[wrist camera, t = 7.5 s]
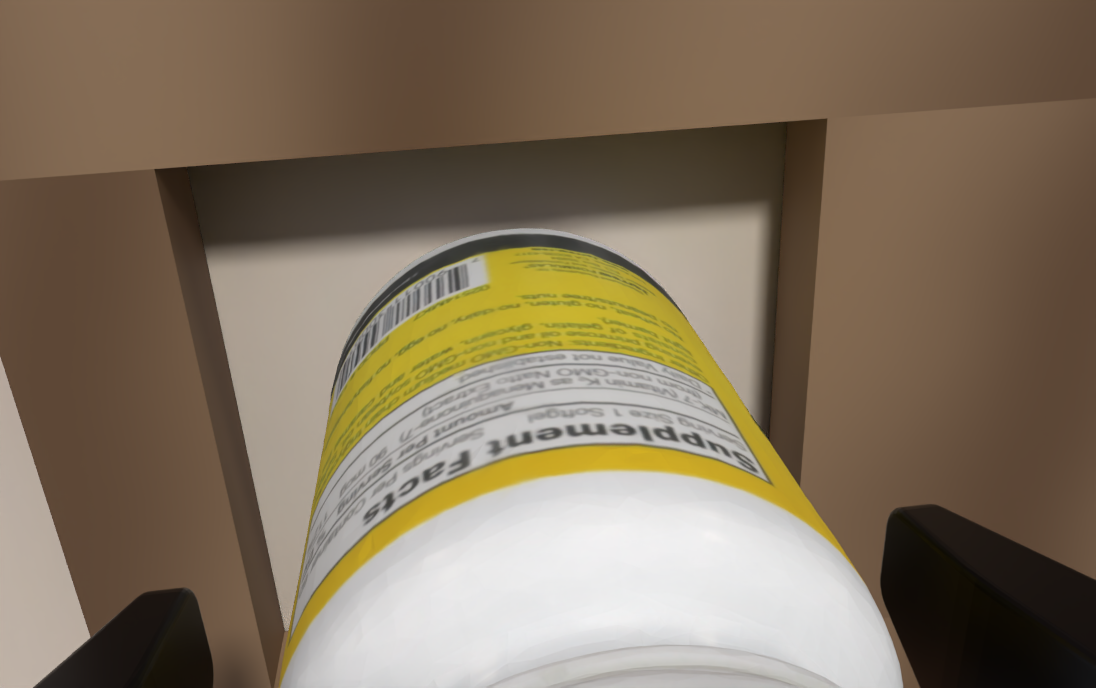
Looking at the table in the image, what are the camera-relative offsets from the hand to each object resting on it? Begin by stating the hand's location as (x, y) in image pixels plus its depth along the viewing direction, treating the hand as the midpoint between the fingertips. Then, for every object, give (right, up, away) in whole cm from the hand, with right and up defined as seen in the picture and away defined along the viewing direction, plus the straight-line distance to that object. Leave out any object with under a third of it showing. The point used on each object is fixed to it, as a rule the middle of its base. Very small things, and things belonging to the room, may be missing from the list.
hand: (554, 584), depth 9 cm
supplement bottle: (0, +2, +4) cm, 4 cm away
